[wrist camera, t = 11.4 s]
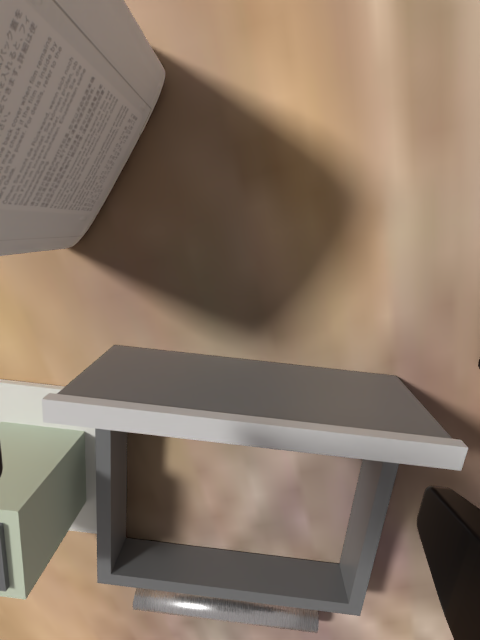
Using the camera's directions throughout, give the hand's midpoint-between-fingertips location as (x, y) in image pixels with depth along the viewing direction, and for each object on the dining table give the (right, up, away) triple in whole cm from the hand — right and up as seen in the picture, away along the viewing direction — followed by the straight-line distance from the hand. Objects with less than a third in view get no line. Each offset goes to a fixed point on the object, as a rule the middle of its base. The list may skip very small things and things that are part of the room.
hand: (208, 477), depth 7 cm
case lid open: (+1, +1, +12) cm, 12 cm away
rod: (0, -16, +17) cm, 23 cm away
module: (-11, -5, +14) cm, 19 cm away
